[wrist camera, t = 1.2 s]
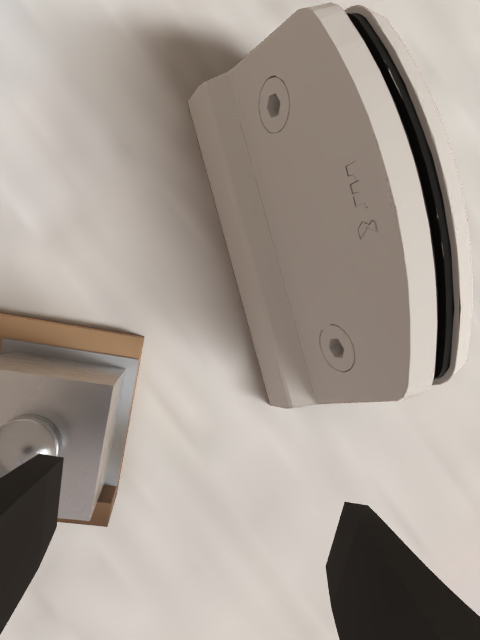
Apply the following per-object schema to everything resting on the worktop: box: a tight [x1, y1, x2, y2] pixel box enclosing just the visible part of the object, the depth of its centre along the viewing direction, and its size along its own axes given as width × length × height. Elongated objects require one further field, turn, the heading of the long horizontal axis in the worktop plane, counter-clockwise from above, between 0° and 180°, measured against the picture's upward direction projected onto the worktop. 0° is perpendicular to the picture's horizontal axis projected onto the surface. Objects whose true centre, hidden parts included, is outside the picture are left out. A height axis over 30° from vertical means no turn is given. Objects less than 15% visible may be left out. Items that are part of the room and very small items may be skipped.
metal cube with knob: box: [0, 351, 126, 521], centre depth 17 cm, size 5×5×6 cm
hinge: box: [188, 3, 473, 408], centre depth 19 cm, size 17×5×10 cm, turn 15°
